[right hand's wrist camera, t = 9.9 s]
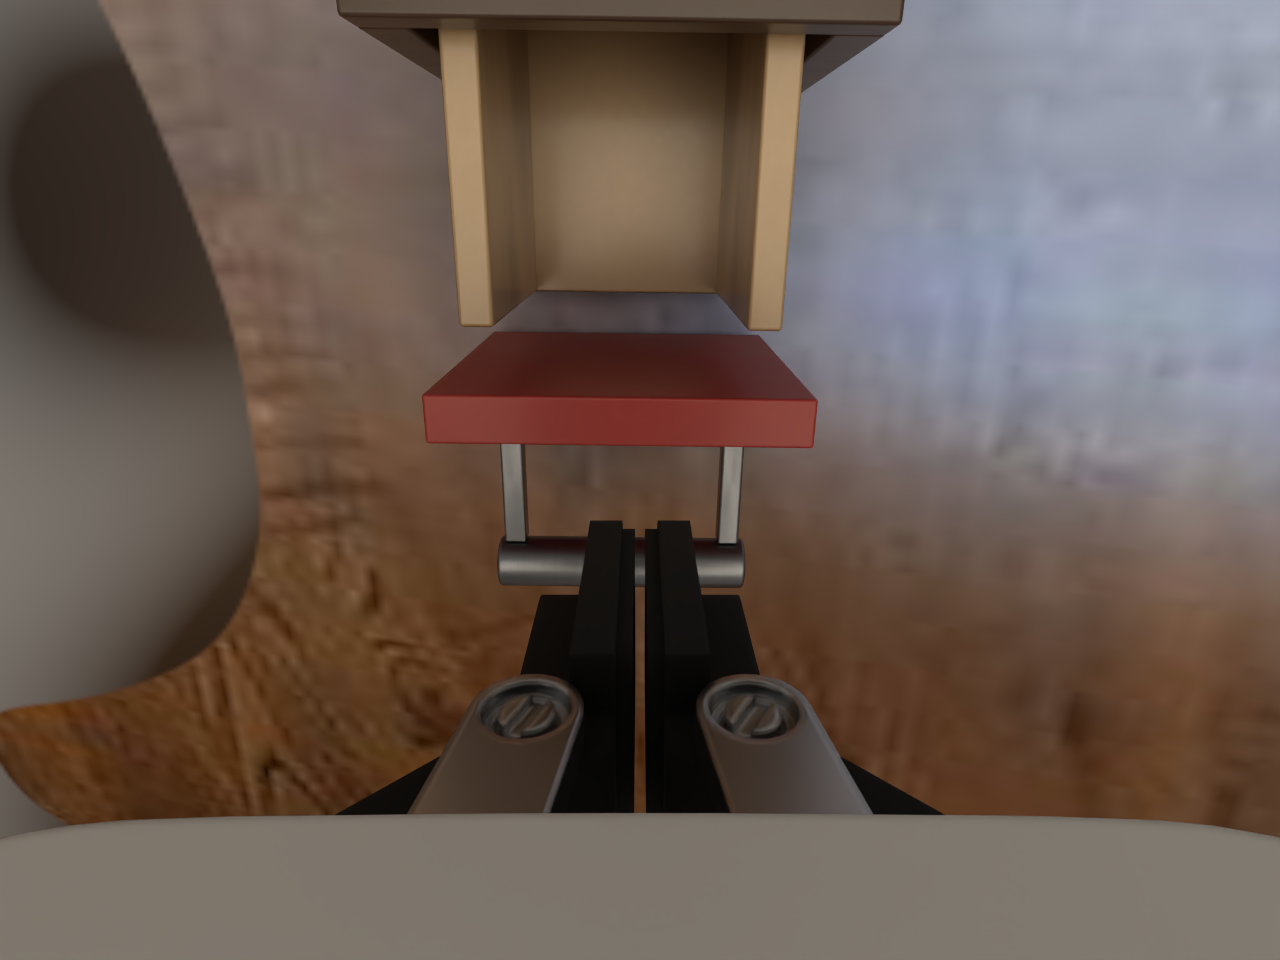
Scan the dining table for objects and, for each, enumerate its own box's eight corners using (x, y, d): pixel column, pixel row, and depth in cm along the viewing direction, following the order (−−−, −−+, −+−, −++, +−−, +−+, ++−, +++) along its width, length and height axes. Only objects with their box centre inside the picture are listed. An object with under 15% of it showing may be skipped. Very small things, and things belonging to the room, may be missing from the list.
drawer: (747, 506, 28) (794, 638, 19) (503, 503, 28) (443, 634, 19) (807, -345, 19) (937, -770, 11) (455, -351, 19) (311, -784, 11)
